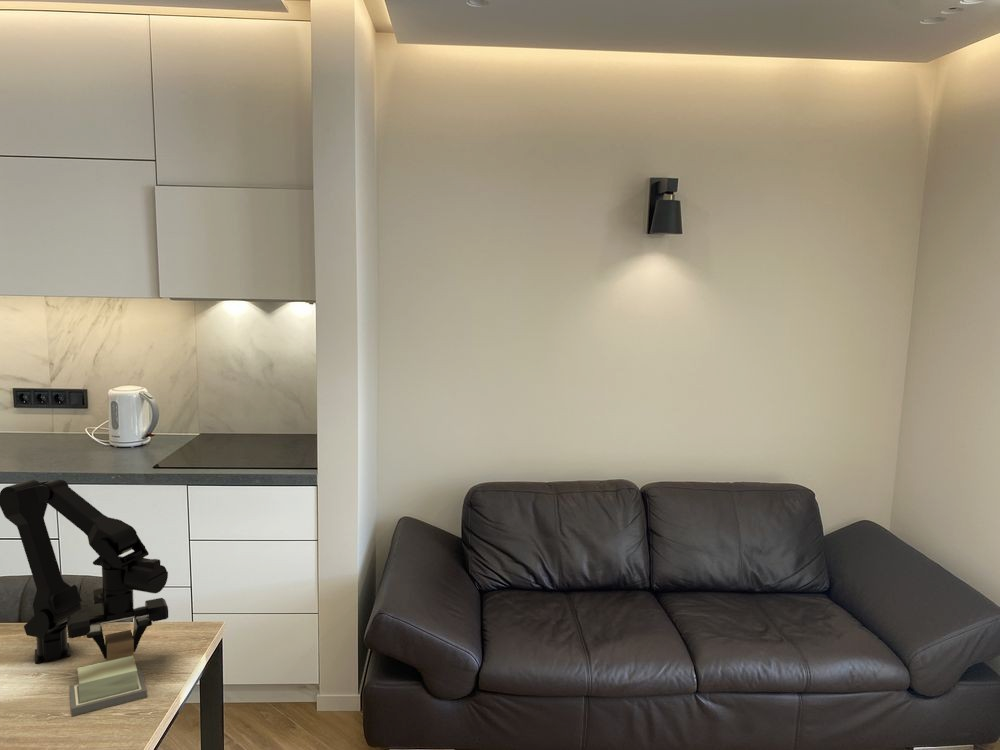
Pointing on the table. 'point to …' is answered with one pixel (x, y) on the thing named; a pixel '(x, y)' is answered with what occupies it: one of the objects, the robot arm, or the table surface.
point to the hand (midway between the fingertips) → (119, 654)
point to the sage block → (107, 678)
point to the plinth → (106, 698)
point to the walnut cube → (119, 645)
